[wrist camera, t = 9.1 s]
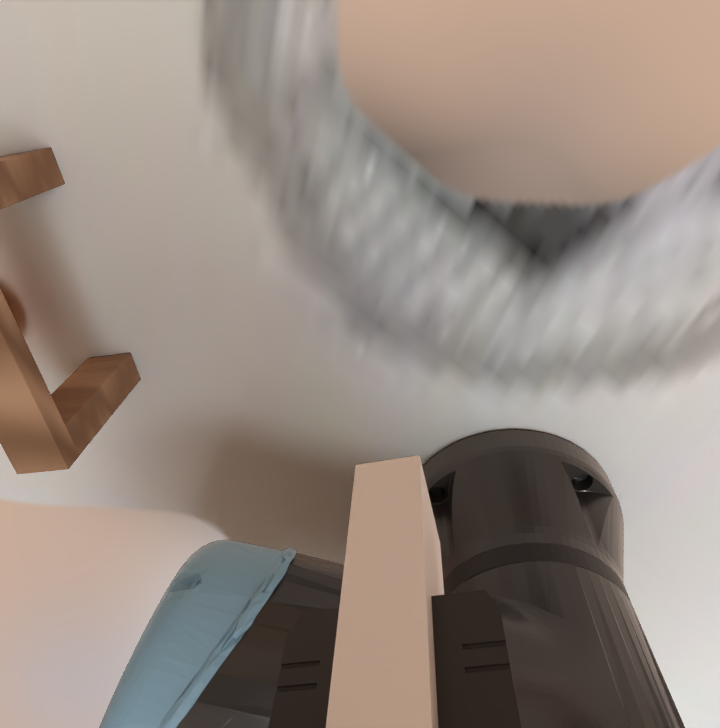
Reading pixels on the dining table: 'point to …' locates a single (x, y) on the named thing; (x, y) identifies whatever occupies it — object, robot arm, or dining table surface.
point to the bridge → (21, 375)
